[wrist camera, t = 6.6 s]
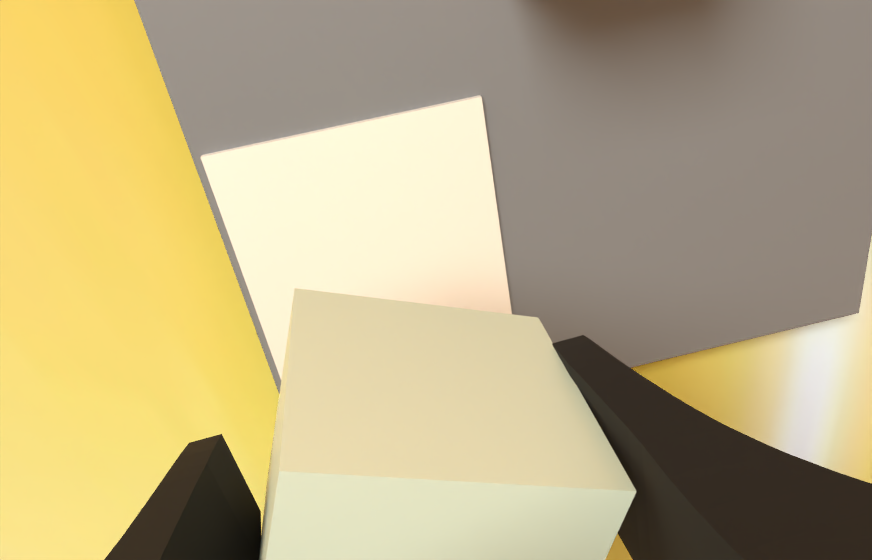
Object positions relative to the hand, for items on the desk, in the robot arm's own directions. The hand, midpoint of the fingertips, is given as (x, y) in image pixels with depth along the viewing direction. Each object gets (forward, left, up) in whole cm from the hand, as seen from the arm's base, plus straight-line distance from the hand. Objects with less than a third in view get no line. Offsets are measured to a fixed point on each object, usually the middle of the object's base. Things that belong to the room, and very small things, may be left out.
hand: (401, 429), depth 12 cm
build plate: (-6, -3, -9) cm, 11 cm away
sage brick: (0, 0, -1) cm, 1 cm away
